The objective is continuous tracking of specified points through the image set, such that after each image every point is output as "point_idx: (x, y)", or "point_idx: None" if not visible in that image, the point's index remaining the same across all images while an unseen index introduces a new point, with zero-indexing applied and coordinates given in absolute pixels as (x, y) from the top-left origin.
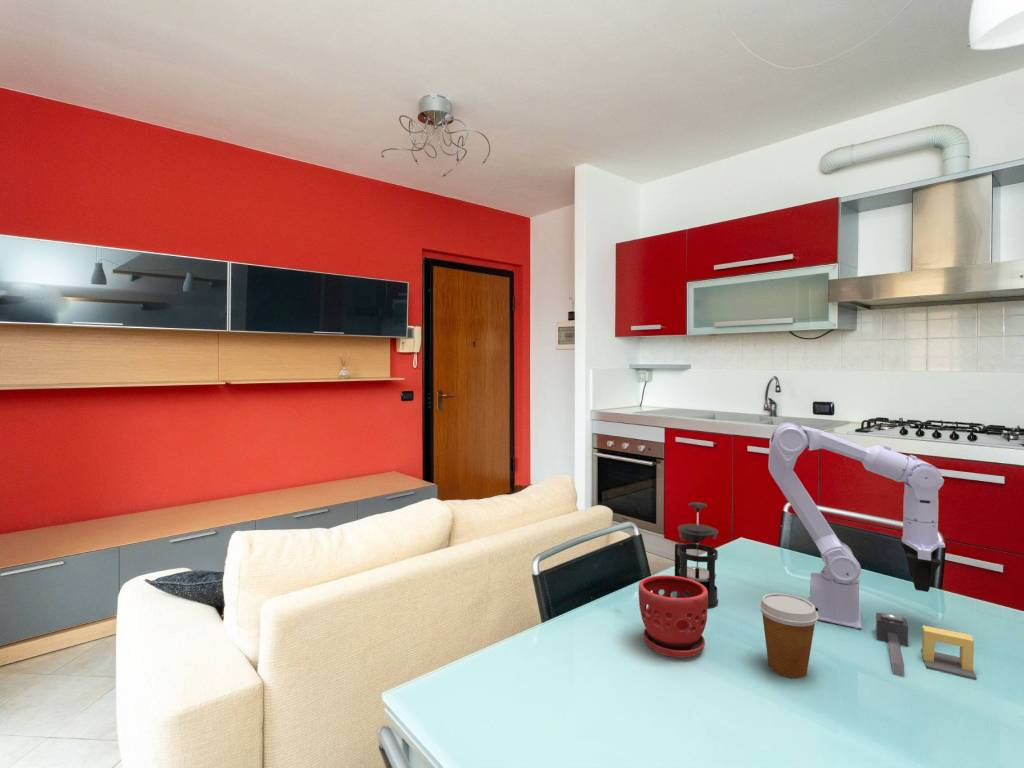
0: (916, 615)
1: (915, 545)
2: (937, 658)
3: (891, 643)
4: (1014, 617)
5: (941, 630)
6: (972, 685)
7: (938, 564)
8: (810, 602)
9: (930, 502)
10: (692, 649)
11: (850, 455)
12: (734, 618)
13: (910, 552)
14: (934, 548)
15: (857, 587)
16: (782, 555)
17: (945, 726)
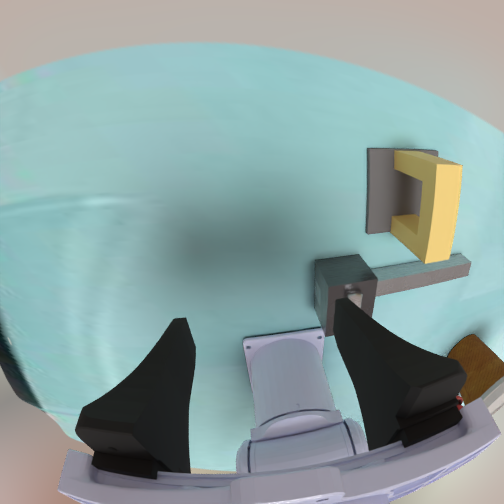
0: (145, 246)
1: (420, 487)
2: (396, 207)
3: (410, 286)
4: (14, 76)
5: (438, 227)
6: (453, 161)
7: (462, 367)
8: (498, 397)
9: None
10: (460, 399)
11: None
12: (362, 418)
13: (182, 440)
14: (425, 463)
15: (316, 400)
16: (68, 413)
17: None
